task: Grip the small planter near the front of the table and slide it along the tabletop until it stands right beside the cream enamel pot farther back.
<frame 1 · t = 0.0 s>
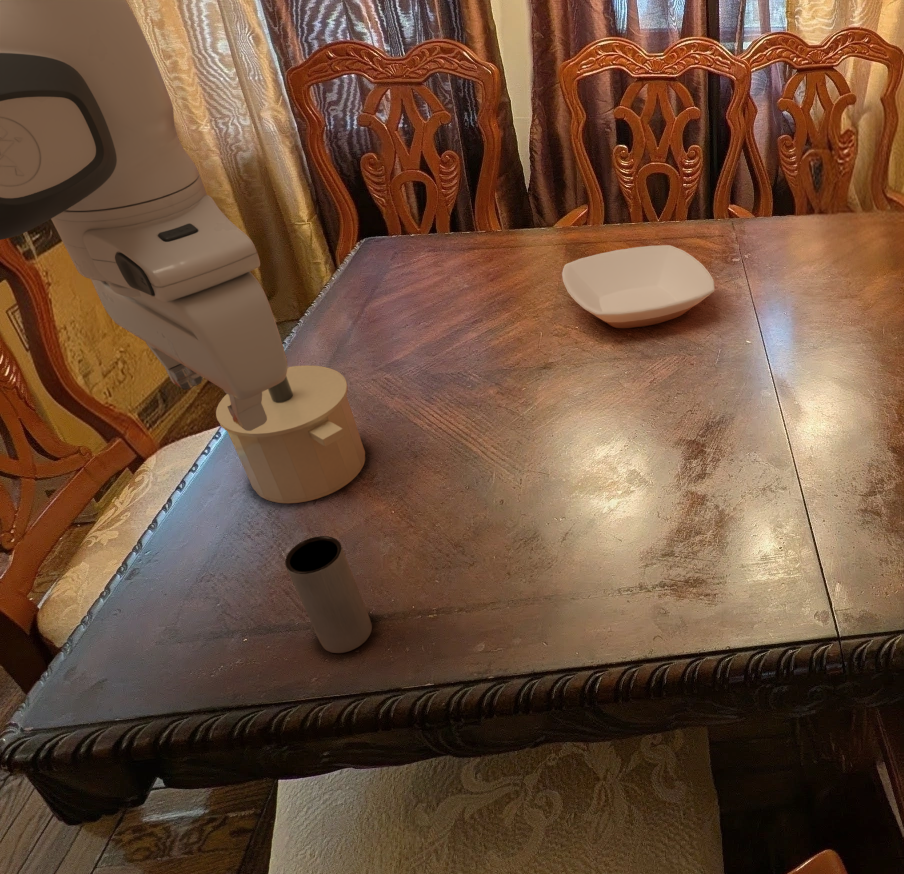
hand: (219, 403, 61), 24 cm above the table, tool pointing down, fingers open, 8 cm apart
bowl: (638, 308, 124), on the table
planter: (347, 635, 74), on the table
pot lid: (284, 401, 88), point 9 cm above the table, touching pot
pot: (310, 468, 94), on the table
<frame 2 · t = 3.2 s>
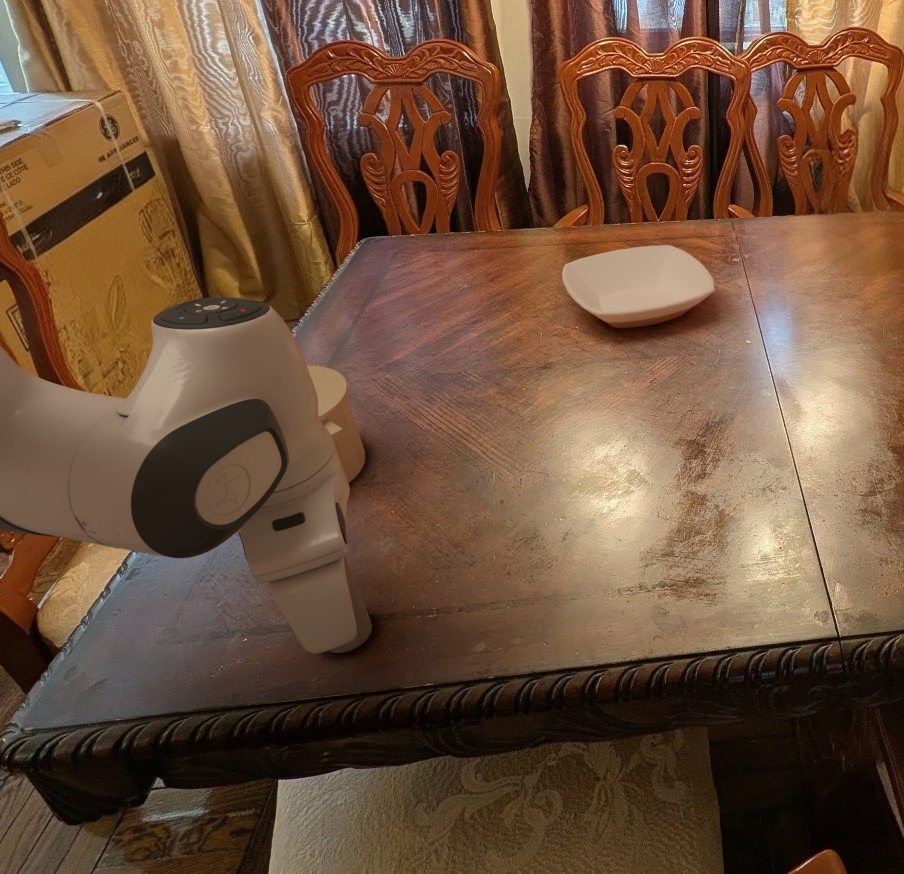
hand: (335, 606, 71), 4 cm above the table, tool pointing down, fingers closed on planter, 4 cm apart
planter: (347, 635, 74), on the table, touching gripper
everything else where it was.
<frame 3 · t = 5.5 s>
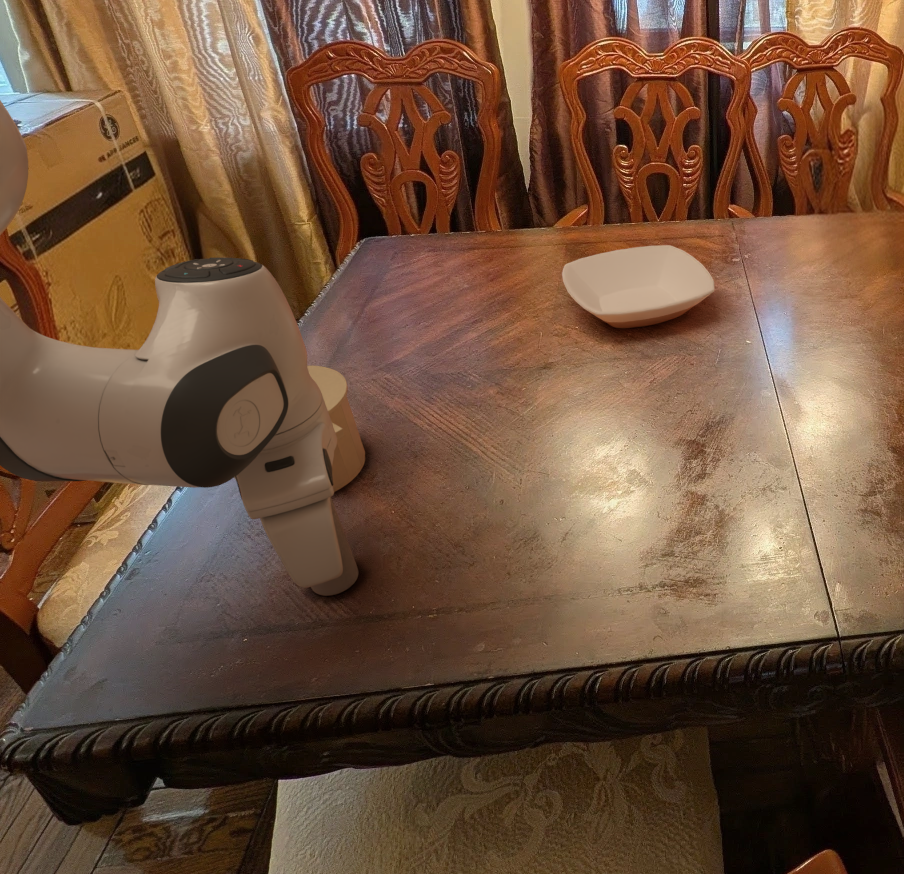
hand: (324, 552, 77), 4 cm above the table, tool pointing down, fingers closed on planter, 4 cm apart
planter: (335, 580, 79), on the table, touching gripper
everything else where it was.
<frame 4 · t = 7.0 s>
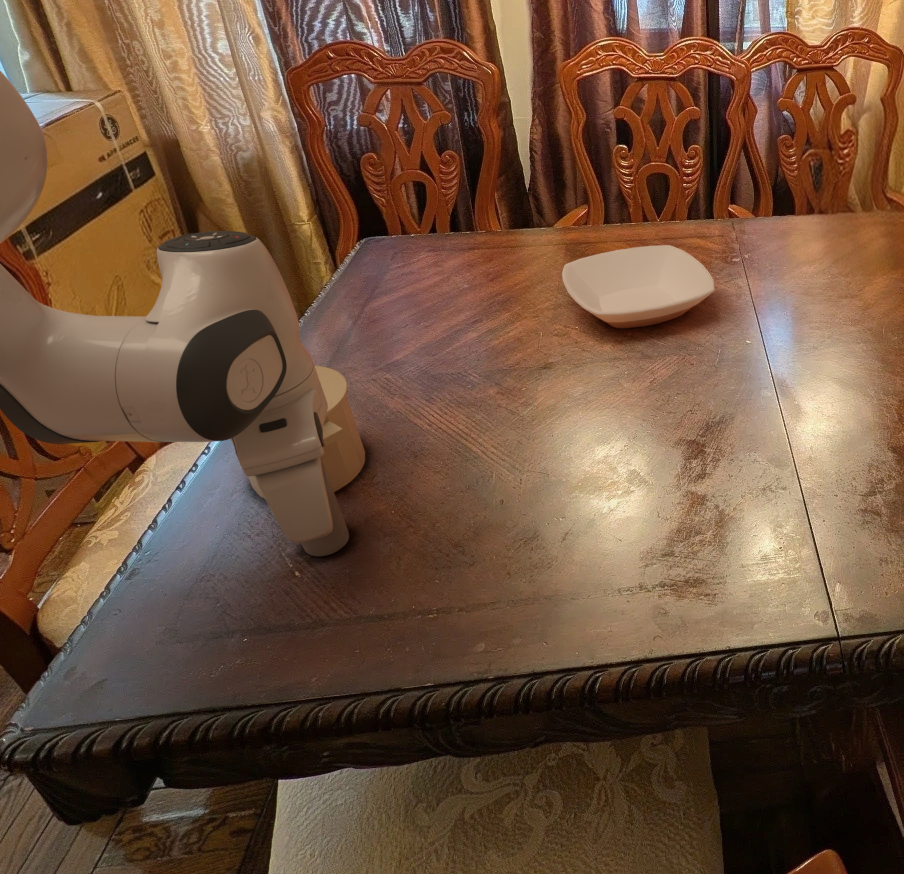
hand: (317, 515, 81), 4 cm above the table, tool pointing down, fingers closed on planter, 4 cm apart
planter: (327, 543, 83), on the table, touching gripper
everything else where it was.
when the fingers open (4 cm above the table, at t = 8.3 s): planter stays where it is, on the table.
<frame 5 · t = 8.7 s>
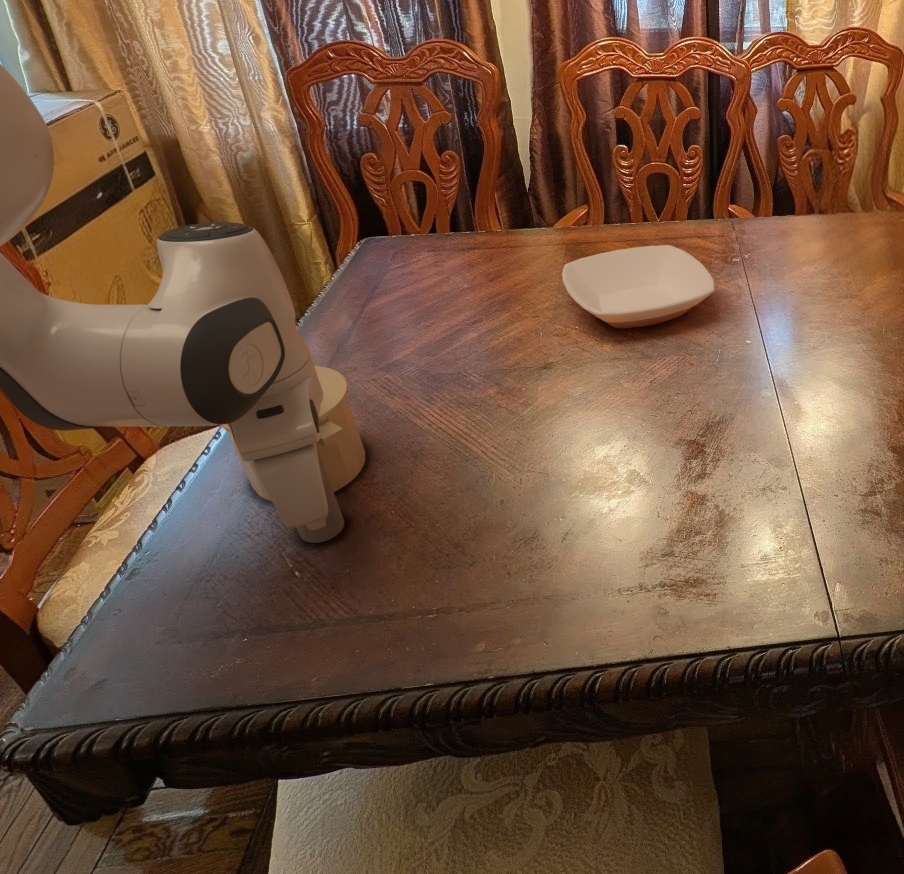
hand: (313, 503, 83), 4 cm above the table, tool pointing down, fingers open, 6 cm apart
planter: (323, 530, 85), on the table
everything else where it was.
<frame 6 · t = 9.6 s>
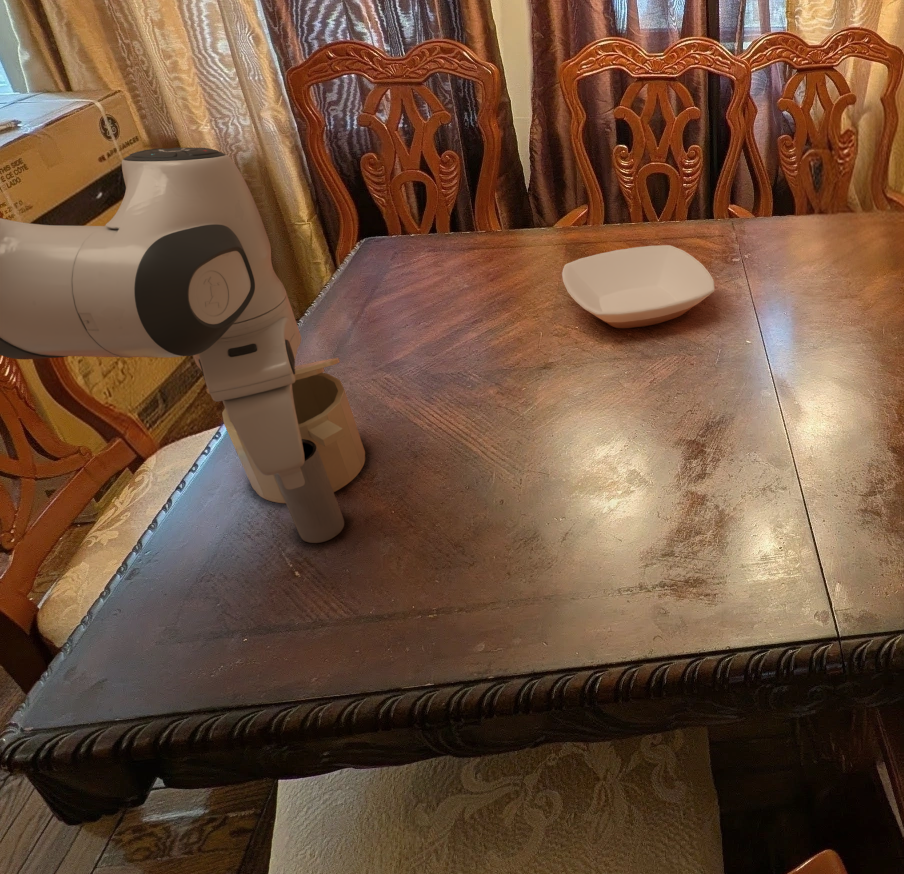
hand: (290, 457, 79), 10 cm above the table, tool pointing down, fingers open, 8 cm apart
pot lid: (275, 377, 87), point 12 cm above the table, tilted 26°, touching gripper, pot
everything else where it was.
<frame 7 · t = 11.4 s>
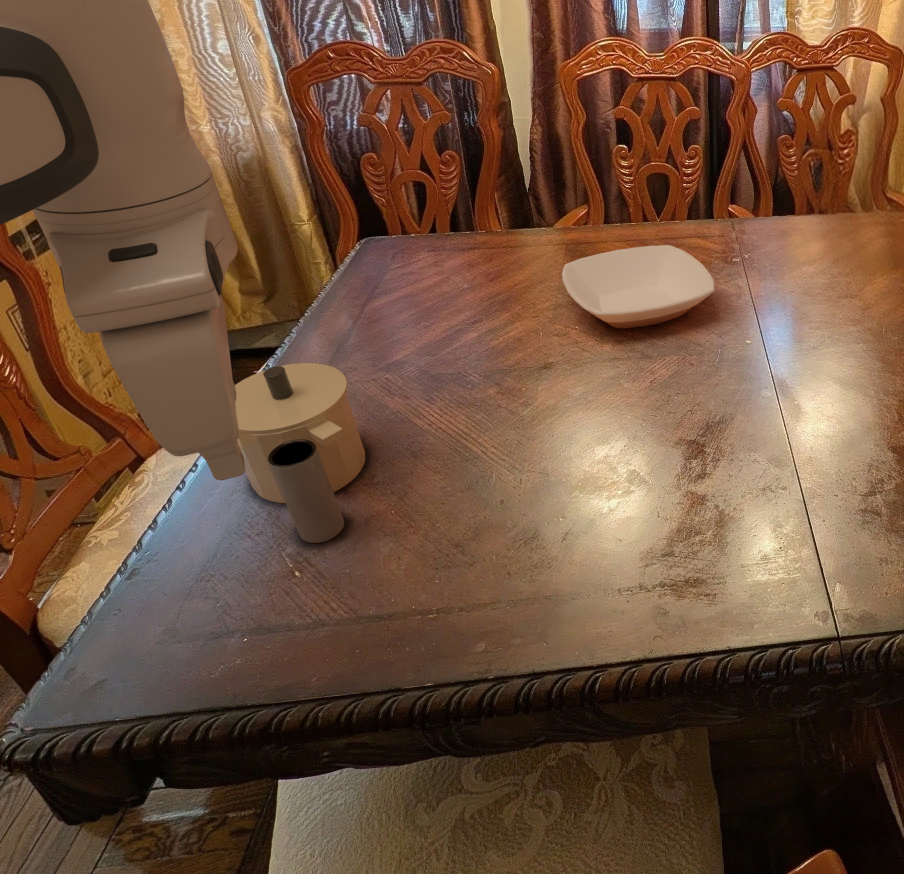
hand: (227, 433, 54), 26 cm above the table, tool pointing down, fingers open, 8 cm apart
pot lid: (284, 398, 88), point 9 cm above the table, touching pot
everything else where it was.
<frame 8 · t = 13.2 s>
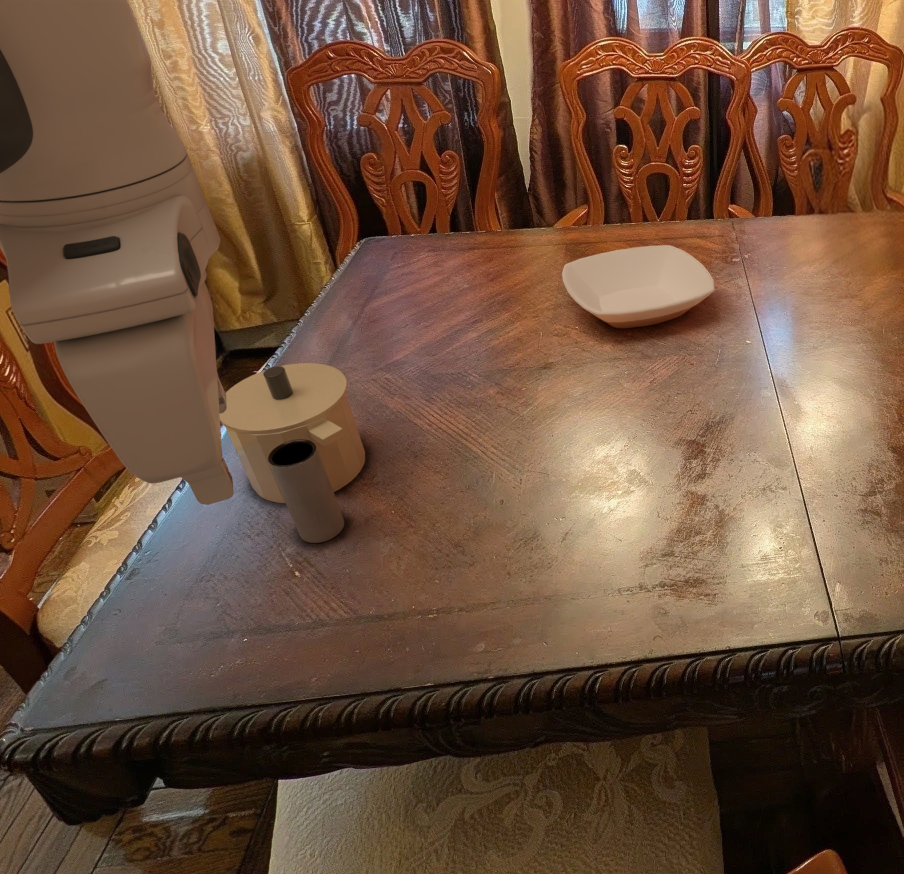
hand: (215, 449, 48), 29 cm above the table, tool pointing down, fingers open, 8 cm apart
nothing on the table moved.
at the end: planter 11.7 cm from the pot (horizontally); planter moved 16.1 cm from its start; planter tilted 0° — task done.
